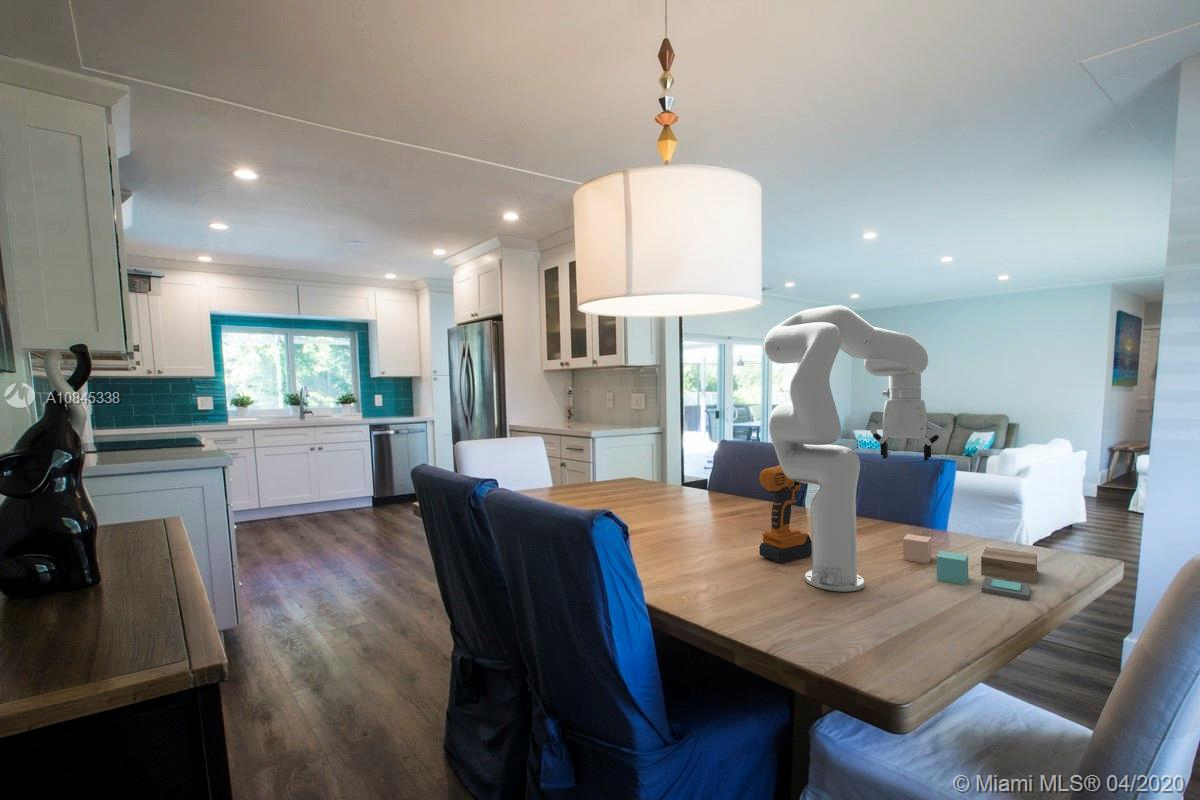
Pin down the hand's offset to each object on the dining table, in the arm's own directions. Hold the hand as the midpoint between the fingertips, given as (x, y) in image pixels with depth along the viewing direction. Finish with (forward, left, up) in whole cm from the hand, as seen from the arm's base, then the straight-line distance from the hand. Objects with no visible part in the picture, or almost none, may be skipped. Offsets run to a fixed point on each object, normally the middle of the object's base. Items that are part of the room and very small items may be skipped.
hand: (905, 459), depth 145 cm
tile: (-18, -22, -25) cm, 38 cm away
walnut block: (-4, -22, -26) cm, 34 cm away
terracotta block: (-4, -3, -25) cm, 26 cm away
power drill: (-19, +24, -25) cm, 40 cm away
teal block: (-16, -12, -25) cm, 32 cm away
